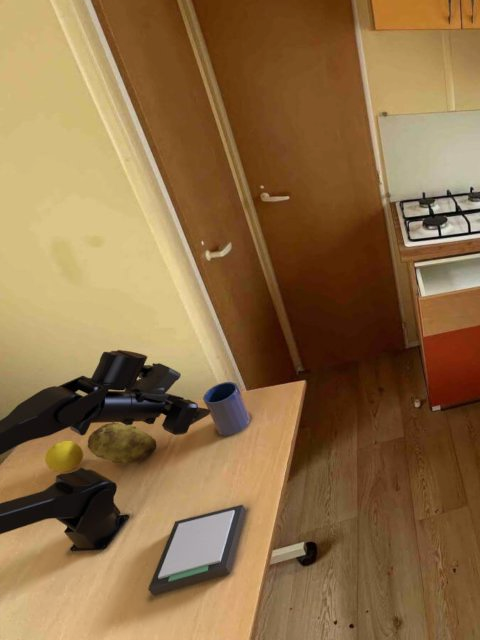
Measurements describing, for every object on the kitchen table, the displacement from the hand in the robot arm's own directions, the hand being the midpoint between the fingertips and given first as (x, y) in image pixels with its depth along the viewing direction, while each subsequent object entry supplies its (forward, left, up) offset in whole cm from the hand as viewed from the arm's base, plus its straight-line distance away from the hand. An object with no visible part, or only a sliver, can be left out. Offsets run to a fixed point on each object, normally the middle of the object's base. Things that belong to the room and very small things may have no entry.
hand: (196, 406), depth 96 cm
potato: (-3, +18, -12) cm, 22 cm away
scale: (-25, -12, -12) cm, 30 cm away
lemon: (-6, +28, -12) cm, 31 cm away
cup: (+5, -2, -12) cm, 13 cm away
